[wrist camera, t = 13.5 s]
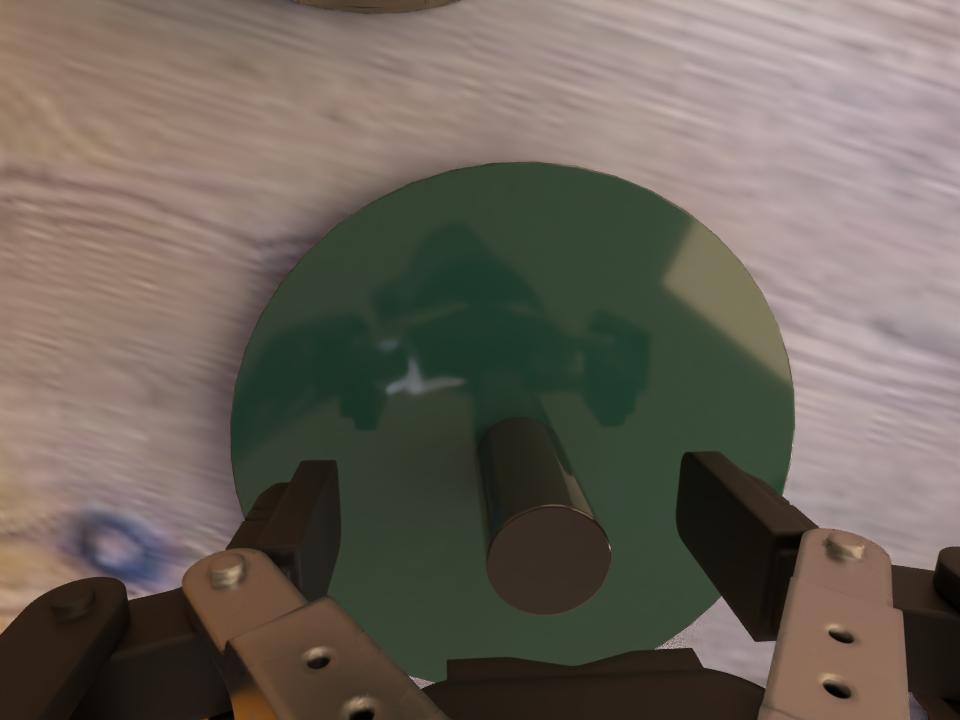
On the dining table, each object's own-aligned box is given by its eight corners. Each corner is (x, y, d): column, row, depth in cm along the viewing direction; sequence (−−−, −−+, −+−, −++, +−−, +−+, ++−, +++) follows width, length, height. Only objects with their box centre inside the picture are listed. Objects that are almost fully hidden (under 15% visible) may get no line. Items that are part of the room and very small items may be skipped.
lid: (262, 667, 19) (180, 873, 13) (221, 153, 15) (76, 120, 9) (734, 659, 20) (853, 847, 14) (816, 175, 16) (1030, 156, 10)
